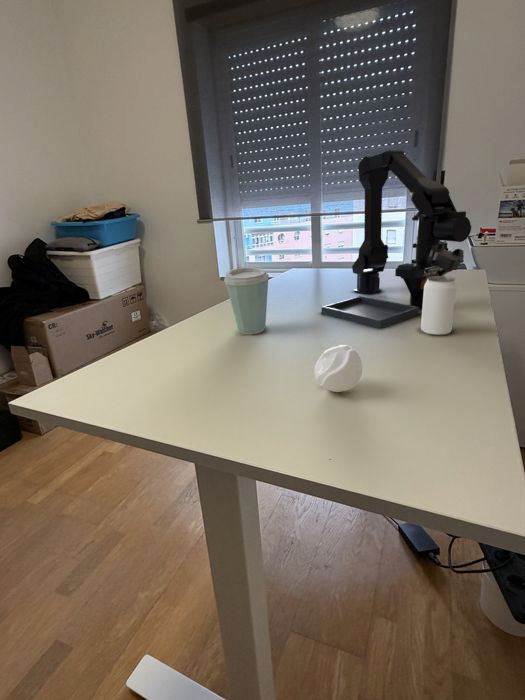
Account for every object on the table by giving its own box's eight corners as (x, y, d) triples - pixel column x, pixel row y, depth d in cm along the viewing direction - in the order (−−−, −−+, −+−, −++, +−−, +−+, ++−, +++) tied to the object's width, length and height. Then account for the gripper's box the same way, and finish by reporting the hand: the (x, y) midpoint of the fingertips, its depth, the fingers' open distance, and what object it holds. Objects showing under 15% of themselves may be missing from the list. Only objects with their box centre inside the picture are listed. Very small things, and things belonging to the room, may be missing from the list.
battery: (437, 310, 107) (441, 272, 104) (410, 309, 109) (412, 272, 106) (435, 305, 111) (439, 269, 108) (409, 305, 113) (411, 269, 109)
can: (455, 329, 92) (461, 277, 88) (445, 337, 88) (450, 282, 84) (427, 325, 96) (431, 274, 92) (415, 332, 92) (419, 280, 88)
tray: (321, 313, 111) (321, 306, 110) (359, 302, 120) (359, 295, 119) (379, 328, 96) (380, 320, 95) (418, 314, 105) (419, 307, 104)
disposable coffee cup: (280, 331, 99) (277, 269, 94) (241, 341, 94) (236, 276, 89) (258, 321, 108) (254, 265, 102) (222, 330, 103) (215, 271, 97)
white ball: (311, 381, 72) (310, 340, 69) (353, 377, 72) (354, 336, 69) (320, 402, 64) (320, 357, 62) (367, 398, 65) (369, 353, 62)
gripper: (436, 245, 92) (431, 311, 98) (478, 236, 103) (471, 296, 108) (395, 242, 101) (392, 303, 106) (438, 234, 111) (433, 291, 117)
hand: (423, 298), depth 109 cm, fingers closed on battery, 7 cm apart
